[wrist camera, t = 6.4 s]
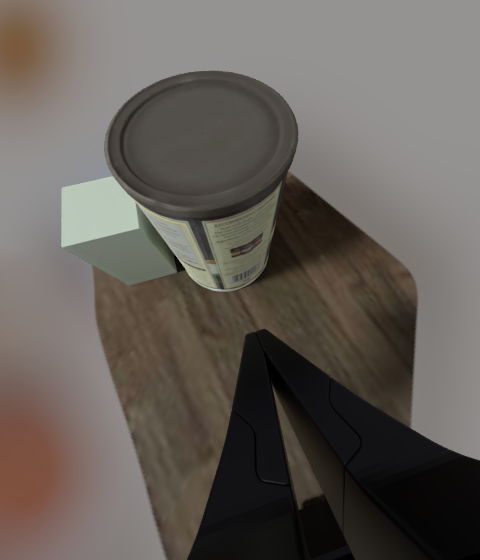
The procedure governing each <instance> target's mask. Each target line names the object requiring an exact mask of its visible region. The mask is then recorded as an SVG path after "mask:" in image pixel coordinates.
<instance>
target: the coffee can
mask: <svg viewBox="0 0 480 560" xmlns="http://www.w3.org/2000/svg"><path fill="white" fill-rule="evenodd" d="M297 142H298V127H297V123H296V119H295V116H294V114H293V112H292V110H291V109H290V107H289V105H288V104H287V102H286V101H285V100H284V99H283V97H282V96H281V95H280V94H278V93H277V92H276V91H275V90H273V89H272V88H271V87H269V86H267V85H266V84H264V83H262V82H260V81H258V80H256V79H253V78H250V77H248V76H244V75H241V74H236V73H232V72H223V71H199V72H189V73H184V74H180V75H176V76H172V77H169V78H166V79H163V80H160V81H158V82H156V83H153V84H152V85H150V86H148V87H146V88H144V89H142V90H141V91H140V92H138V93H137V94H135V95H134V96H133V97H131V98H130V99H129V100H128V101H127V102H126V103H125V104H124V105H123V106H122V107H121V108H120V109H119V110H118V112H117V113H116V114H115V116H114V118H113V119H112V121H111V123H110V125H109V127H108V130H107V133H106V137H105V144H104V145H105V146H104V152H105V158H106V162H107V165H108V167H109V170H110V172H111V173H112V175H113V177H114V178H115V180H116V181H117V182H118V184H119V185H120V186H121V187H122V188H123V189H124V190H125V191H126V193H127V194H128V195H129V196H131V197H132V198H133V199H134V200H135V202H136V203H137V204H138V206H139V207H140V208H141V210H142V211H143V212H144V214H145V215H146V216H147V218H148V219H149V220H150V222H151V223H152V224H153V226H154V227H155V228H156V230H157V231H158V232H159V234H160V235H161V236H162V238H163V239H164V240H165V242H166V243H167V245H168V246H169V247H170V249H171V250H172V251H173V253H174V254H175V255H176V257H177V258H178V259H179V261H180V262H181V263H182V265H183V266H184V267H185V269H186V271H187V273H188V274H189V276H190V277H191V278H192V279H193V280H194V281H195V282H197V283H198V284H199V285H201V286H203V287H205V288H207V289H210V290H214V291H221V292H227V291H235V290H238V289H241V288H243V287H245V286H247V285H249V284H250V283H252V282H253V281H254V280H256V279H257V278H258V277H259V275H260V274H261V273H262V272H263V270H264V268H265V266H266V264H267V260H268V256H269V250H270V245H271V241H272V236H273V232H274V228H275V223H276V219H277V215H278V211H279V207H280V203H281V198H282V194H283V190H284V186H285V181H286V177H287V173H288V170H289V168H290V166H291V164H292V161H293V158H294V154H295V151H296V147H297Z"/></svg>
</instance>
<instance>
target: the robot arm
mask: <svg viewBox="0 0 480 560" xmlns="http://www.w3.org/2000/svg"><path fill="white" fill-rule="evenodd" d="M271 383H272V384H271ZM272 386H273V388H274V390H275V392H276V394H277V396H278V399H279V401H280V403H281V405H282V407H283V409H284V411H285V413H286V415H287V417H288V420H289V422H290V424H291V426H292V428H293V430H294V432H295V434H296V436H297V438H298V440H299V443H300V445H301V447H302V449H303V451H304V453H305V455H306V457H307V459H308V461H309V464H310V466H311V468H312V470H313V472H314V474H315V476H316V478H317V480H318V482H319V485H320V487H321V489H322V491H323V493H324V495H325V497H326V499H327V501H328V502H327V503H326V502H321V503H319V504H316V505H313V506H310V507H308V508H305V509H302V510H299V509H298V505H297V500H296V495H295V491H294V486H293V481H292V477H291V472H290V467H289V463H288V458H287V453H286V449H285V444H284V439H283V435H282V430H281V425H280V421H279V416H278V411H277V407H276V402H275V397H274V393H273V388H272ZM187 560H480V460H476V459H473V458H470V457H467V456H464V455H461V454H459V453H456V452H454V451H451V450H449V449H447V448H445V447H443V446H441V445H439V444H437V443H435V442H433V441H431V440H430V439H428V438H426V437H424V436H423V435H421V434H419V433H418V432H416V431H414V430H413V429H411V428H409V427H408V426H406V425H404V424H403V423H401V422H399V421H398V420H396V419H394V418H393V417H391V416H389V415H388V414H386V413H384V412H383V411H381V410H379V409H378V408H376V407H374V406H373V405H371V404H370V403H368V402H366V401H365V400H363V399H362V398H360V397H358V396H357V395H355V394H354V393H353V392H351V391H350V390H348V389H347V388H345V387H344V386H343V385H341V384H340V383H338V382H337V381H336V380H334V379H333V378H330V376H329V375H327V374H326V373H325V372H323V371H322V370H321V369H319V368H318V367H317V366H315V365H314V364H312V363H311V362H310V361H308V360H307V359H306V358H304V357H303V356H302V355H300V354H299V353H297V352H296V351H295V350H293V349H292V348H291V347H289V346H288V345H287V344H285V343H284V342H282V341H281V340H280V339H278V338H277V337H276V336H274V335H273V334H272V333H270V332H269V331H268V330H266V329H262V330H258V331H256V333H255V332H252V333H249V334H246V336H245V342H244V347H243V352H242V358H241V363H240V368H239V374H238V379H237V384H236V390H235V395H234V400H233V406H232V411H231V416H230V421H229V426H228V430H227V435H226V440H225V443H224V447H223V451H222V454H221V458H220V461H219V465H218V468H217V471H216V475H215V478H214V481H213V485H212V488H211V491H210V494H209V498H208V501H207V504H206V508H205V511H204V514H203V518H202V521H201V524H200V527H199V530H198V533H197V535H196V538H195V541H194V543H193V546H192V548H191V551H190V553H189V555H188V558H187Z"/></svg>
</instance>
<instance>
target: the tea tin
mask: <svg viewBox="0 0 480 560" xmlns="http://www.w3.org/2000/svg"><path fill="white" fill-rule="evenodd" d="M62 248H63V249H65V250H67V251H69V252H70V253H72V254H74V255H76V256H78V257H79V258H81V259H83V260H85V261H86V262H88V263H90V264H92V265H94V266H95V267H97V268H99V269H101V270H102V271H104V272H106V273H108V274H110V275H111V276H113V277H115V278H117V279H118V280H120V281H122V282H124V283H126V284H127V285H133V284H137V283H140V282H144V281H148V280H152V279H155V278H159V277H163V276H167V275H170V274H174V273H177V269H176V264H175V258H174V253H173V251H172V250H171V249H170V247H169V246H168V245H167V243H166V242H165V240H164V239H163V238H162V236H161V235H160V234H159V232H158V231H157V230H156V228H155V227H154V226H153V224H152V223H151V222H150V220H149V219H148V218H147V216H146V215H145V214H144V212H143V211H142V210H141V208H140V207H139V206H138V204H137V203H136V202H135V200H134V199H133V198H132V197H131V196H129V195H128V194H127V193H126V191H125V190H124V189H123V188H122V187H121V186H120V185H119V184H118V182H117V181H116V180H115V178H114V177H113V176H112V177H107V178H103V179H99V180H94V181H90V182H85V183H81V184H77V185H72V186H68V187H64V188H62Z"/></svg>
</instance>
